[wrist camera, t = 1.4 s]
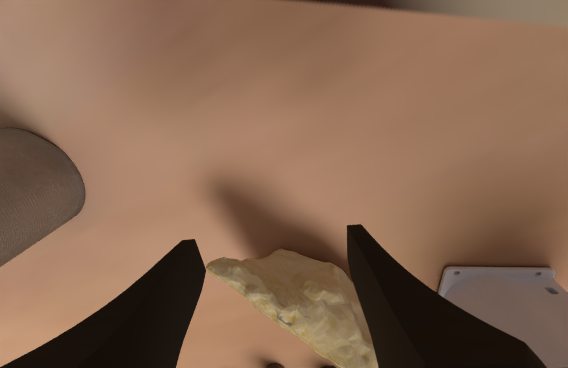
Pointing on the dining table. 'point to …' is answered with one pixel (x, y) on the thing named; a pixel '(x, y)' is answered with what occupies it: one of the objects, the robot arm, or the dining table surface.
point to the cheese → (305, 302)
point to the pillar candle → (34, 190)
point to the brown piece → (279, 367)
